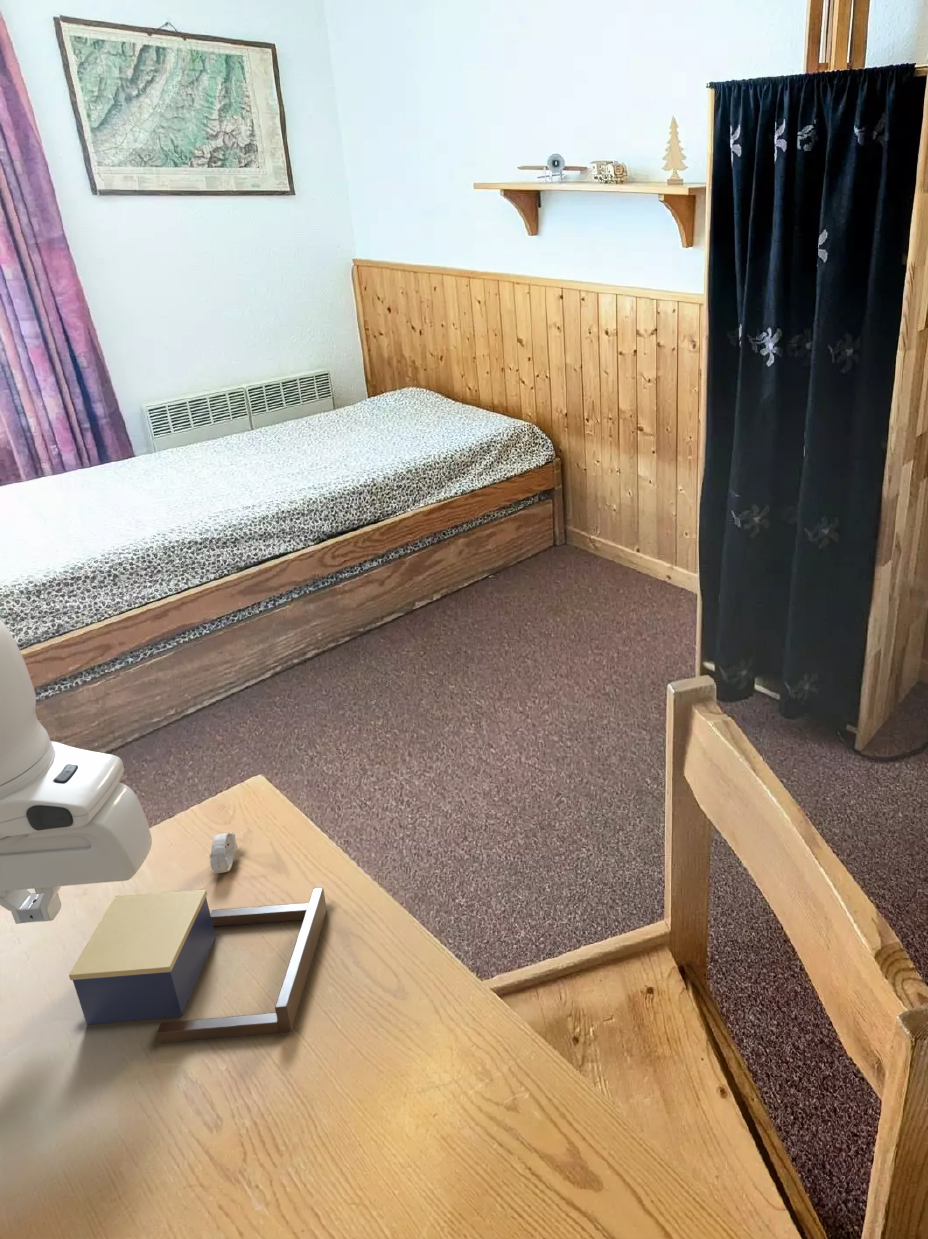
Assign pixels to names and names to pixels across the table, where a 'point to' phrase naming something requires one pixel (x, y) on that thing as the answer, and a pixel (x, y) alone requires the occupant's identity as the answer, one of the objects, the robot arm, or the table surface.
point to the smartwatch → (223, 852)
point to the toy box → (144, 957)
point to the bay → (291, 985)
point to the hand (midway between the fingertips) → (39, 916)
